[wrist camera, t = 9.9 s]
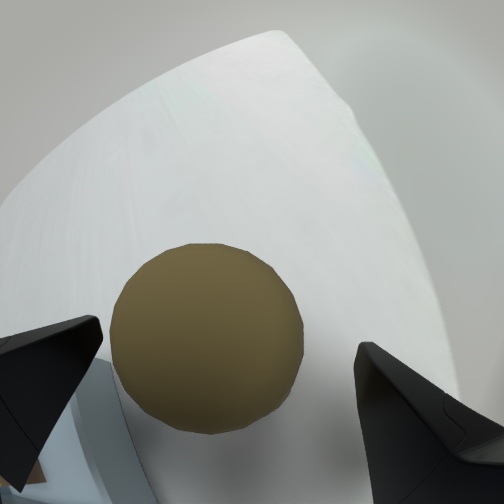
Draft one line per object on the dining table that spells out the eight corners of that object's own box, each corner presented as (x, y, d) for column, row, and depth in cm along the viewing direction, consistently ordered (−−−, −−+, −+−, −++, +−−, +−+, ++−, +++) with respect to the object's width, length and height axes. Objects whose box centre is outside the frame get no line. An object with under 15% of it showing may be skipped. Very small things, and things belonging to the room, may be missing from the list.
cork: (239, 440, 13) (172, 507, 3) (173, 365, 15) (47, 303, 6) (316, 371, 15) (388, 320, 5) (246, 303, 17) (210, 172, 8)
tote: (164, 514, 10) (132, 540, 6) (15, 498, 8) (-19, 500, 4) (109, 362, 16) (67, 347, 12) (-13, 391, 14) (-47, 380, 10)
